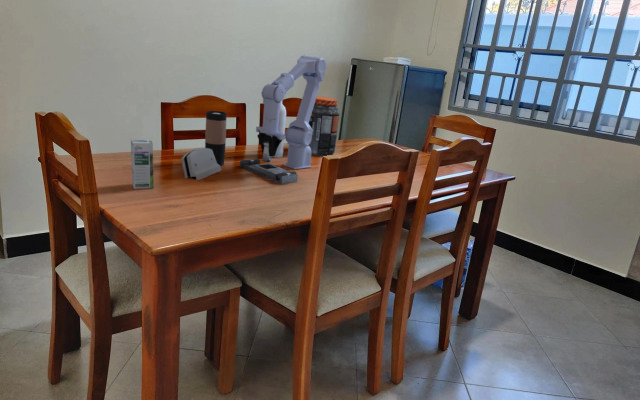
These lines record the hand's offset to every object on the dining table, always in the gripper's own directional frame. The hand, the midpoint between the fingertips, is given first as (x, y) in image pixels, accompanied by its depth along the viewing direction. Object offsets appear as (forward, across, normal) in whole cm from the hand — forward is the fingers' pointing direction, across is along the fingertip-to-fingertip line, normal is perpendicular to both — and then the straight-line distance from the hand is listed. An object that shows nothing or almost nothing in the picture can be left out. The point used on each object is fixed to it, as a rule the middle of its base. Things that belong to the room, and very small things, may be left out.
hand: (268, 154), depth 163 cm
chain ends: (+7, 0, 0) cm, 7 cm away
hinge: (+8, -10, -22) cm, 26 cm away
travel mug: (+8, -19, -11) cm, 23 cm away
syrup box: (+8, -4, -46) cm, 47 cm away
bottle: (+8, -22, +21) cm, 31 cm away
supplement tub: (+8, -20, +47) cm, 52 cm away
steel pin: (+2, 0, 0) cm, 3 cm away
